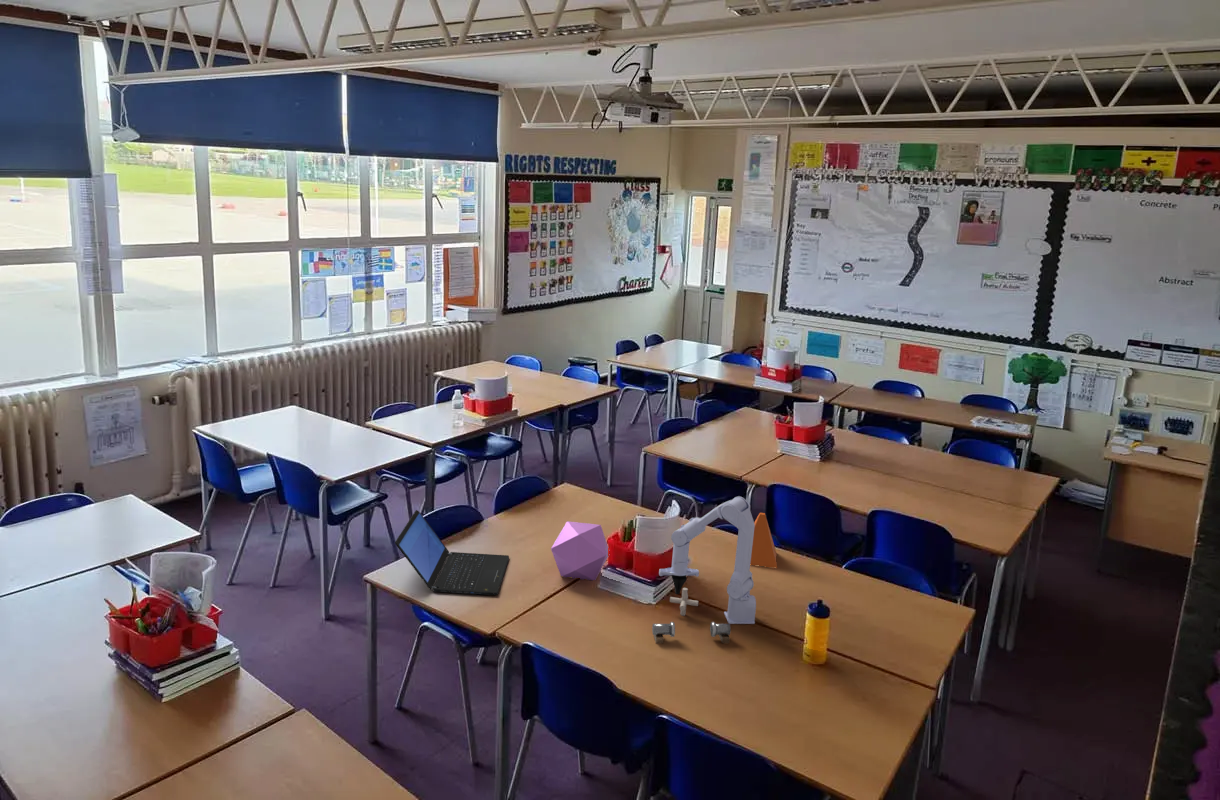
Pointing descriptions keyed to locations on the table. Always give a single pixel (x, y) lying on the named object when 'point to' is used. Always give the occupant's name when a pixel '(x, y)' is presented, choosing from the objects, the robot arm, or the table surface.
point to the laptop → (449, 562)
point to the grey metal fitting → (663, 631)
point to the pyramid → (763, 544)
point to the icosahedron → (580, 550)
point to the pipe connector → (684, 601)
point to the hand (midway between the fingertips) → (677, 593)
